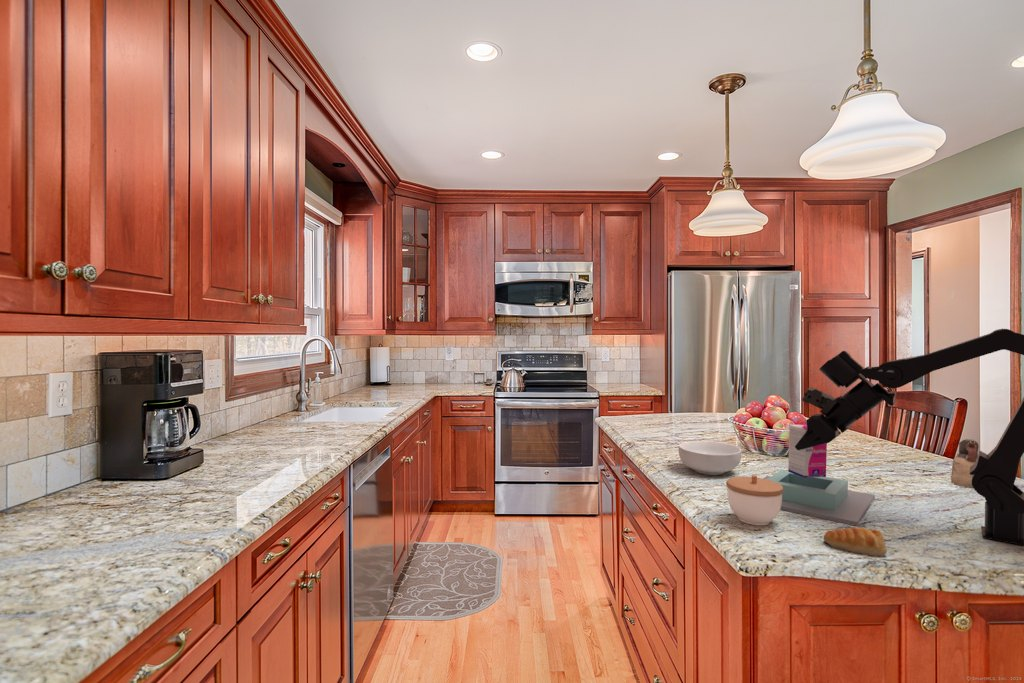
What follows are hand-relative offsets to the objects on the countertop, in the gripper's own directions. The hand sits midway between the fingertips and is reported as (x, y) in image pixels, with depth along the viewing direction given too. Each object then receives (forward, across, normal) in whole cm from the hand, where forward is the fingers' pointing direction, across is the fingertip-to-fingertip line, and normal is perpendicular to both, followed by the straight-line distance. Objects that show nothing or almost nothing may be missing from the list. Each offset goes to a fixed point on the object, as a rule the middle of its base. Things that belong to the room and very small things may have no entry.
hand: (800, 445), depth 123 cm
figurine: (-12, -42, +30) cm, 53 cm away
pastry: (-1, +24, +20) cm, 32 cm away
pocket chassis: (+8, 0, +10) cm, 13 cm away
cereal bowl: (+27, -9, -9) cm, 30 cm away
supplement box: (+4, 0, +6) cm, 7 cm away
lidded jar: (+12, +23, +6) cm, 26 cm away
